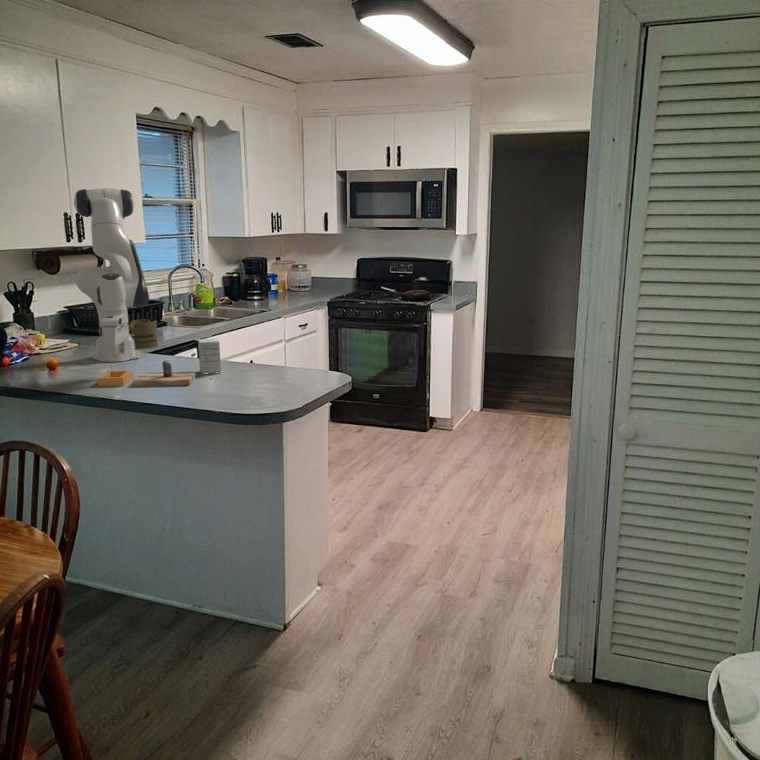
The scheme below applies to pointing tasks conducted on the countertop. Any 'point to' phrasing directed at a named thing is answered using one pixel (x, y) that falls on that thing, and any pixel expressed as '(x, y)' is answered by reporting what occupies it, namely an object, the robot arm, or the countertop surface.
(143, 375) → the wooden board
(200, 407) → the countertop surface
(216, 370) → the supplement box
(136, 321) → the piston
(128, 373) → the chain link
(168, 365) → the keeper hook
